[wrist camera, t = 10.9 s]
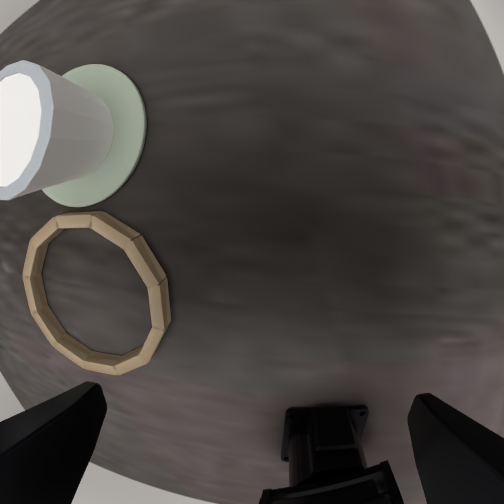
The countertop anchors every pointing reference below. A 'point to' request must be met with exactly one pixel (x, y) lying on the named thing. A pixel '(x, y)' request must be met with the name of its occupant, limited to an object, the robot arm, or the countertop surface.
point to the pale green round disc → (124, 136)
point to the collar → (140, 260)
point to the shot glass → (48, 130)
